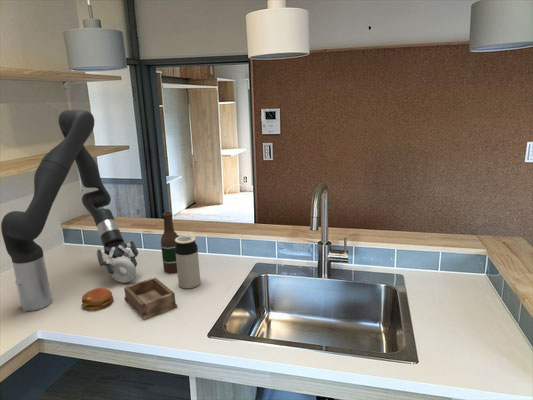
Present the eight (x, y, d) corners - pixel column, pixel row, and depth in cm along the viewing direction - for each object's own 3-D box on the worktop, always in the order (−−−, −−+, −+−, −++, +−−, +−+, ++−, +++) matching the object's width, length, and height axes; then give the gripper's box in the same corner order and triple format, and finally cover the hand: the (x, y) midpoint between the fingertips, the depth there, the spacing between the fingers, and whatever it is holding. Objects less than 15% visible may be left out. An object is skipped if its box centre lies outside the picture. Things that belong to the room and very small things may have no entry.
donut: (110, 284, 154) (106, 259, 151) (114, 280, 157) (111, 255, 154) (135, 285, 152) (131, 260, 150) (139, 280, 156) (136, 256, 153)
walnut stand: (143, 320, 129) (142, 305, 127) (124, 299, 142) (122, 286, 140) (177, 307, 135) (176, 293, 134) (156, 289, 149) (154, 276, 147)
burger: (117, 297, 144) (115, 285, 143) (107, 311, 135) (105, 298, 134) (89, 297, 144) (87, 286, 143) (77, 311, 135) (75, 299, 134)
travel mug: (185, 291, 146) (180, 244, 142) (174, 283, 152) (170, 238, 147) (204, 284, 151) (200, 238, 146) (193, 277, 157) (189, 233, 152)
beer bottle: (185, 265, 168) (180, 209, 161) (179, 274, 160) (173, 215, 154) (166, 265, 169) (161, 209, 162) (160, 273, 161) (154, 215, 155)
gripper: (91, 233, 151) (106, 271, 146) (129, 224, 160) (144, 260, 154) (89, 243, 157) (103, 280, 151) (126, 234, 165) (140, 269, 159)
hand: (124, 270), depth 153 cm, fingers open, 8 cm apart
